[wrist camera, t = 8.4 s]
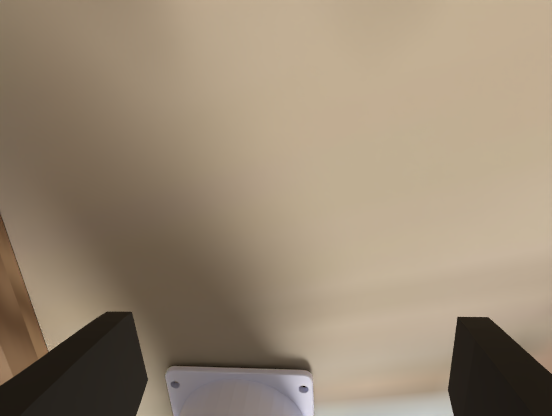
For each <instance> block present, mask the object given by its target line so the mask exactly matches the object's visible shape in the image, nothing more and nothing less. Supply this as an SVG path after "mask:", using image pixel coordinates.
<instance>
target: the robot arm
mask: <svg viewBox="0 0 552 416" xmlns="http://www.w3.org/2000/svg"><path fill="white" fill-rule="evenodd" d="M165 379H166V383H167V388H168V393H169V397H170V402H171V406H172V411H173V416H314V394H313V376H312V374H311V373H310V372H308V371H306V370H289V369H256V368H223V367H190V366H171V367H169V368H168V369H167V371H166V374H165ZM147 381H148V378H147V374H146V369H145V365H144V361H143V357H142V353H141V348H140V344H139V340H138V336H137V331H136V327H135V323H134V319H133V315H132V312H106V313H104V314H102V315H101V316H99V317H98V318H96V319H95V320H93V321H92V322H90V323H89V324H87V325H86V326H85V327H83V328H82V329H80V330H79V331H77V332H76V333H75V334H73V335H72V336H71V337H69V338H68V339H66V340H65V341H64V342H62V343H61V344H59V345H58V346H57V347H55V348H54V349H52V350H51V351H50V352H48V353H47V354H45V355H44V356H43V357H41V358H40V359H38V360H37V361H35V362H34V363H33V364H31V365H30V366H28V367H27V368H26V369H24V370H23V371H21V372H20V373H18V374H17V375H16V376H14V377H13V378H11V379H10V380H8V381H7V382H5V383H4V384H2V385H0V416H136V414H137V411H138V408H139V405H140V403H141V400H142V396H143V393H144V390H145V387H146V384H147ZM175 381H176V382H178V383H176V382H175ZM301 386H306V387H301ZM448 392H449V396H450V401H451V405H452V410H453V414H454V416H552V374H551V373H550V372H549V371H548V370H547V369H545V368H544V367H543V366H542V365H541V364H540V363H538V362H537V361H536V360H535V359H534V358H533V357H532V356H531V355H530V354H529V353H527V352H526V351H525V350H524V349H523V348H522V347H521V346H520V345H519V344H517V343H516V342H515V341H514V340H513V339H512V338H511V337H510V336H509V335H508V334H506V333H505V332H504V331H503V330H502V329H501V328H500V327H499V326H498V325H496V324H495V323H494V322H493V321H492V320H491V319H490V318H488V317H458V318H457V326H456V333H455V341H454V348H453V356H452V363H451V371H450V379H449V386H448Z"/></svg>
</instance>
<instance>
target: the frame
mask: <svg viewBox="0 0 552 416" xmlns="http://www.w3.org/2000/svg"><path fill="white" fill-rule="evenodd" d="M47 353H48V350H47V348H46V345H45V342H44V339H43V336H42V333H41V330H40V327H39V325H38V322H37V319H36V316H35V313H34V310H33V307H32V304H31V302H30V299H29V296H28V293H27V290H26V287H25V284H24V282H23V279H22V276H21V273H20V270H19V267H18V264H17V261H16V259H15V256H14V253H13V250H12V247H11V244H10V241H9V238H8V236H7V233H6V230H5V227H4V224H3V221H2V218H1V216H0V385H2V384H4V383H5V382H7V381H8V380H10V379H11V378H13V377H14V376H16V375H17V374H18V373H20V372H21V371H23V370H24V369H26V368H27V367H28V366H30V365H31V364H33V363H34V362H35V361H37V360H38V359H40V358H41V357H43V356H44V355H45V354H47Z"/></svg>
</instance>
